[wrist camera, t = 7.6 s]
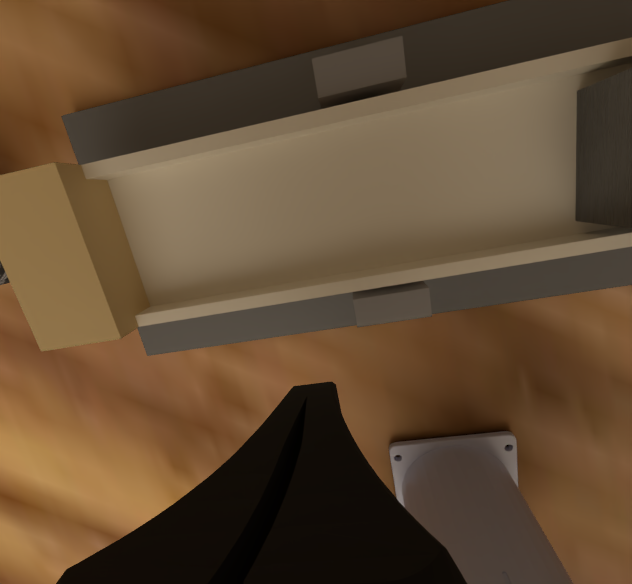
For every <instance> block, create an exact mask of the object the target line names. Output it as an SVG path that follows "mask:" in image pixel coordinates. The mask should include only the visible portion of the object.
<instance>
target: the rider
mask: <svg viewBox="0 0 632 584" xmlns="http://www.w3.org/2000/svg"><path fill="white" fill-rule="evenodd" d="M575 221H579V222H586V223H594V224H602V225H610V226H617V227H625V228H632V68H630V69H628V70H625V71H623V72H620V73H618V74H616V75H613V76H611V77H609V78H606V79H604V80H602V81H599V82H597V83H595V84H592V85H590V86H588V87H585V88H583V89H580V90H578V91H577V121H576V211H575Z"/></svg>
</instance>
